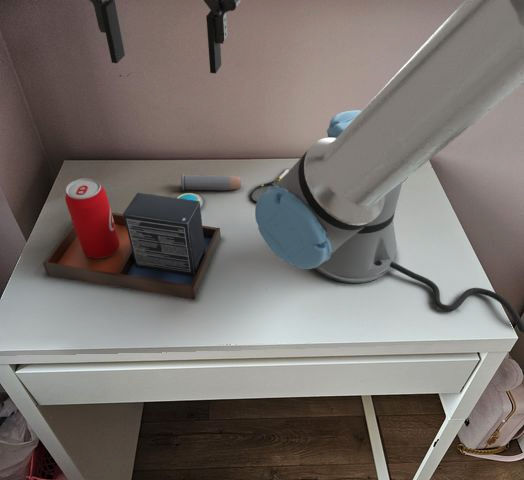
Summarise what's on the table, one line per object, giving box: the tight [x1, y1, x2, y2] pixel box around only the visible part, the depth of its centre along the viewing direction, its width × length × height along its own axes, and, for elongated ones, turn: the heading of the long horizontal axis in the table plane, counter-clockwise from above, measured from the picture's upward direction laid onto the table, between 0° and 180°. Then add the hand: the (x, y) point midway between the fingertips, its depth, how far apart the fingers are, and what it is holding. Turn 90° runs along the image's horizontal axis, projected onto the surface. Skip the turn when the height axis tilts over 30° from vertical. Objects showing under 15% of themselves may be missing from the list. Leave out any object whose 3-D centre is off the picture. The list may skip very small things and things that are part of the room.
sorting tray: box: [42, 212, 222, 301], centre depth 87 cm, size 25×15×2 cm, turn 77°
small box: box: [122, 192, 205, 276], centre depth 82 cm, size 11×6×10 cm, turn 77°
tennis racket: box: [250, 167, 291, 204], centre depth 101 cm, size 12×1×5 cm
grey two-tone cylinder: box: [180, 173, 242, 191], centre depth 99 cm, size 11×3×3 cm
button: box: [176, 192, 204, 209], centre depth 96 cm, size 5×5×1 cm
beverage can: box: [64, 177, 120, 258], centre depth 84 cm, size 6×6×12 cm
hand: (166, 64), depth 69 cm, fingers open, 13 cm apart
